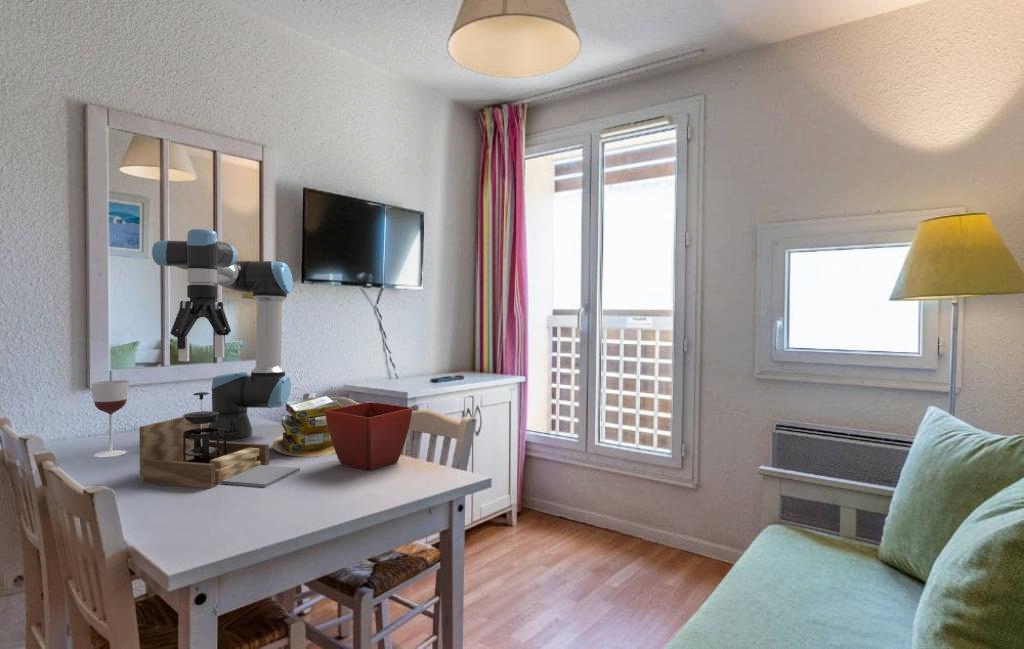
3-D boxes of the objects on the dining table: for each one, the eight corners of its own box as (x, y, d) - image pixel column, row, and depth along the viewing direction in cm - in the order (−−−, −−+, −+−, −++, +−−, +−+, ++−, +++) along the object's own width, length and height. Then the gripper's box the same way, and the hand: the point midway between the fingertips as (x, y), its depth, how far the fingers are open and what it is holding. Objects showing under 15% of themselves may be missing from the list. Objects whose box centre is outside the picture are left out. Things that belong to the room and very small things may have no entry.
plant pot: (368, 476, 159) (368, 416, 158) (323, 465, 169) (323, 410, 168) (413, 461, 175) (414, 407, 174) (370, 452, 185) (370, 401, 185)
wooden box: (205, 459, 174) (205, 411, 174) (268, 464, 170) (268, 414, 169) (139, 482, 151) (139, 426, 150) (211, 488, 146) (211, 431, 146)
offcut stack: (247, 466, 168) (247, 446, 168) (261, 467, 167) (261, 447, 167) (203, 484, 150) (203, 462, 150) (218, 486, 149) (218, 463, 149)
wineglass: (84, 455, 177) (84, 383, 176) (117, 448, 186) (117, 379, 186) (103, 458, 173) (103, 384, 173) (136, 451, 183) (135, 381, 182)
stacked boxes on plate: (354, 452, 185) (355, 402, 184) (273, 460, 175) (273, 406, 174) (344, 437, 207) (344, 392, 207) (271, 442, 197) (271, 395, 197)
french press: (184, 480, 153) (184, 396, 152) (176, 472, 160) (175, 392, 159) (230, 472, 161) (230, 392, 160) (220, 465, 168) (220, 388, 167)
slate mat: (260, 467, 166) (260, 464, 166) (299, 470, 163) (299, 467, 163) (221, 483, 150) (221, 480, 150) (265, 487, 147) (265, 484, 147)
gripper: (222, 286, 172) (222, 355, 173) (154, 282, 148) (155, 362, 148) (243, 286, 171) (243, 356, 171) (179, 282, 146) (179, 363, 147)
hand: (202, 359), depth 160 cm, fingers open, 13 cm apart
